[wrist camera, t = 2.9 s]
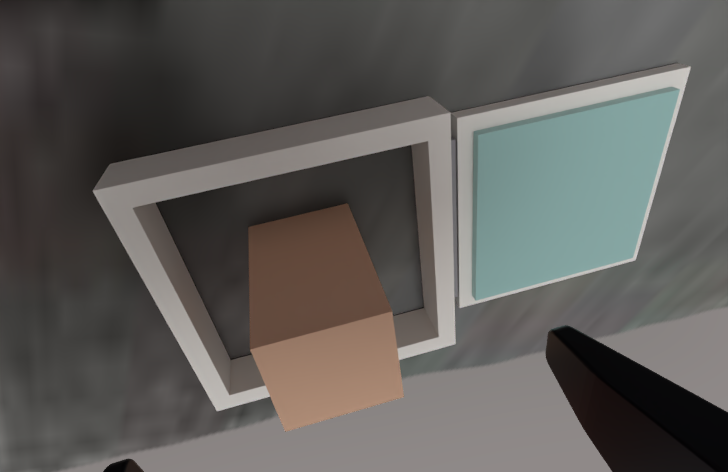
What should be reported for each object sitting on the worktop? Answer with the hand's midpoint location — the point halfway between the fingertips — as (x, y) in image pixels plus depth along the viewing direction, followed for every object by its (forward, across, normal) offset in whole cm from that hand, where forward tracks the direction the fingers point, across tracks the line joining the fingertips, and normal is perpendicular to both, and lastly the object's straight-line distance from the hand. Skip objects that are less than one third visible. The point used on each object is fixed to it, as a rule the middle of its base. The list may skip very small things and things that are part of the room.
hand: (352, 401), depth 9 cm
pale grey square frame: (+13, +1, +5) cm, 14 cm away
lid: (+13, -13, +6) cm, 20 cm away
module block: (+13, +1, +5) cm, 14 cm away
